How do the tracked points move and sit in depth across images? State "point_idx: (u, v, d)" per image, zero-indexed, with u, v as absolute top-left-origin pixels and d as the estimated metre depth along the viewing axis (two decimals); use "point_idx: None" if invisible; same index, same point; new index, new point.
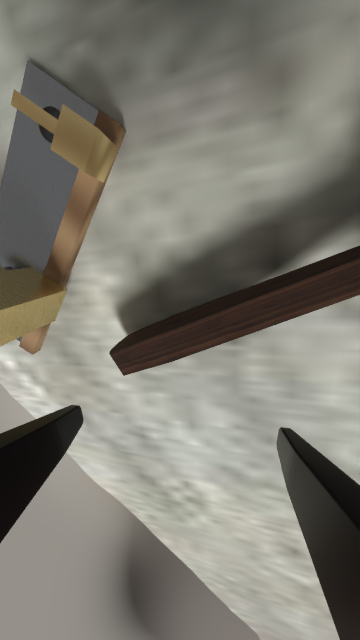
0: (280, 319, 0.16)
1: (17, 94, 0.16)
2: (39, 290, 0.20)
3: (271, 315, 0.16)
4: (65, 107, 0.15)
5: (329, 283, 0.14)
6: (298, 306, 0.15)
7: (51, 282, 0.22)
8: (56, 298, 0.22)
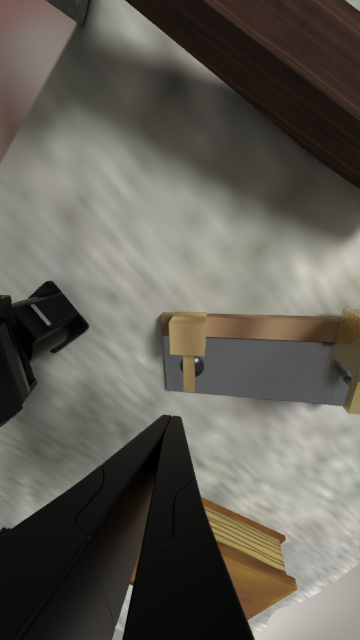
0: None
1: (185, 388, 0.20)
2: None
3: None
4: (171, 351, 0.18)
5: None
6: None
7: (341, 328, 0.17)
8: None
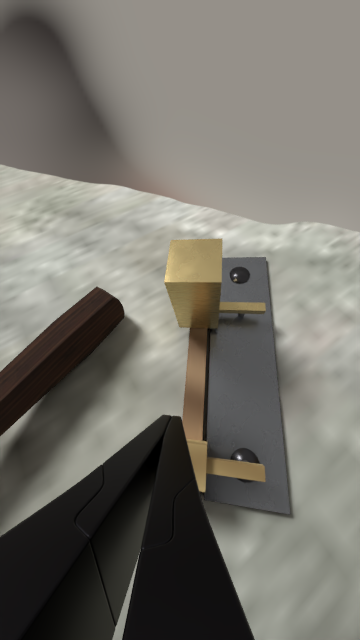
0: None
1: (261, 478, 0.16)
2: (185, 317, 0.22)
3: None
4: (201, 489, 0.15)
5: None
6: None
7: (193, 326, 0.24)
8: None
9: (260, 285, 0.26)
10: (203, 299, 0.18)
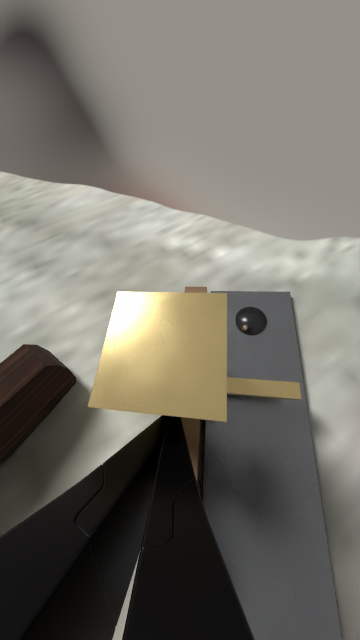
0: None
1: None
2: None
3: None
4: None
5: None
6: None
7: None
8: None
9: (284, 339, 0.17)
10: None
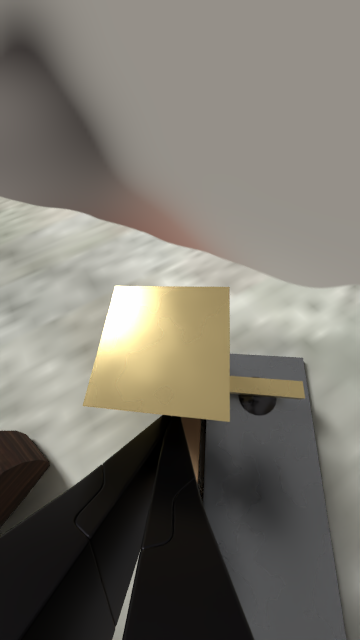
0: None
1: None
2: None
3: None
4: None
5: None
6: None
7: None
8: None
9: (297, 424, 0.14)
10: None
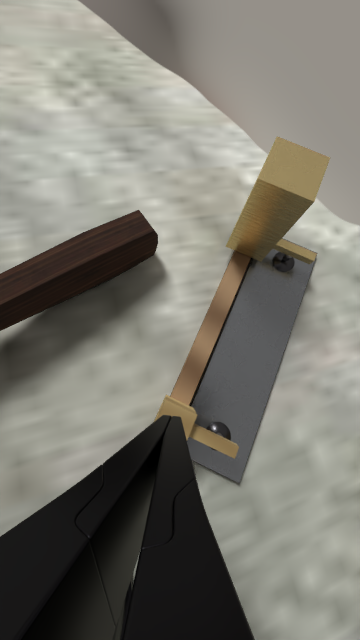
0: None
1: (232, 455, 0.18)
2: (241, 234, 0.21)
3: None
4: None
5: None
6: None
7: (240, 250, 0.24)
8: None
9: (299, 281, 0.25)
10: (278, 218, 0.18)
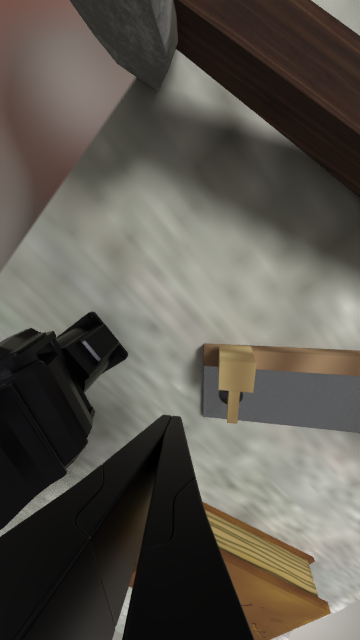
0: (345, 36, 0.09)
1: (228, 420, 0.21)
2: None
3: (344, 58, 0.10)
4: (219, 387, 0.19)
5: (258, 25, 0.09)
6: (311, 31, 0.09)
7: None
8: None
9: None
10: None
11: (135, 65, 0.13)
